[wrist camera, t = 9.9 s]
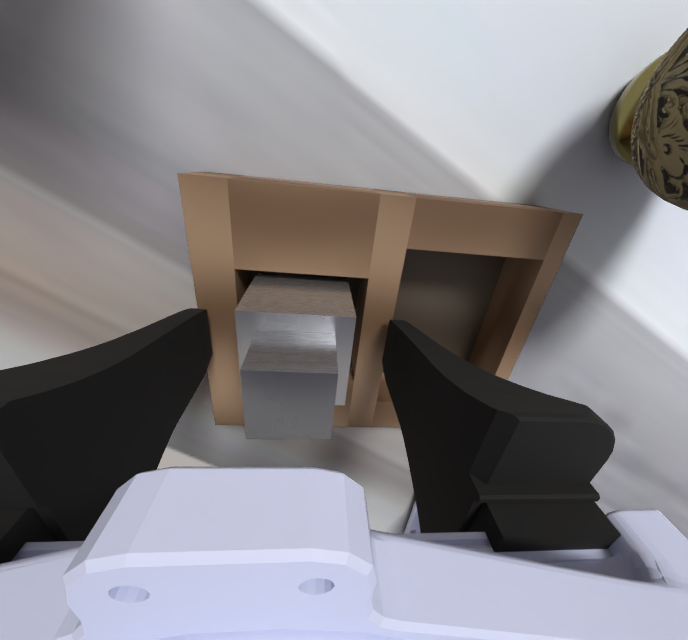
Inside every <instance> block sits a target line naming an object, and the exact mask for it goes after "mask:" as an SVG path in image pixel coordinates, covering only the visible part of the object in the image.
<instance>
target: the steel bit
mask: <svg viewBox="0 0 688 640" xmlns="http://www.w3.org/2000/svg"><path fill="white" fill-rule="evenodd" d="M234 311H235V322H236V334H237V346H238V357H239V369H240V380H241V392H242V403H243V411H244V423H245V434H246V439H320V440H331V435H332V426H333V417H334V408H335V405H345V400H346V392H347V385H348V377H349V369H350V362H351V354H352V347H353V339H354V331H355V324H356V314H355V309H354V305H353V300H352V296H351V292H350V287H349V283H348V278H347V277H341V276H327V275H312V274H298V273H284V272H270V271H258V272H257V274H256V276H255V277H254V279H253V281H252V282H251V284H250V286H249V287H248V289H247V291H246V292H245V294H244V296H243V297H242V299H241V300H240V302H239V304H238V305H237V307H236V309H235V310H234Z"/></svg>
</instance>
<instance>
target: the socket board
mask: <svg viewBox="0 0 688 640" xmlns="http://www.w3.org/2000/svg"><path fill="white" fill-rule="evenodd" d="M178 180H179V186H180V193H181V200H182V206H183V213H184V220H185V226H186V233H187V240H188V246H189V253H190V260H191V266H192V273H193V279H194V286H195V293H196V299H197V306H198V309H207V314H208V322H209V329H210V336H211V344H212V351H213V355H212V357H211V360H210V363H209V366H208V368H207V372H208V379H209V386H210V392H211V399H212V406H213V412H214V419H215V425H245V423H244V411H243V403H242V392H241V380H240V369H239V357H238V346H237V334H236V322H235V311H234V310H235V309H236V307H237V305H238V304H239V302H240V300H241V299H242V297H243V296H244V294H245V292H246V291H247V289H248V287H249V286H250V284H251V282H252V281H253V279H254V277H255V276H256V274H257V272H258V271H270V272H284V273H298V274H312V275H327V276H341V277H347V278H348V283H349V287H350V292H351V296H352V300H353V305H354V309H355V314H356V324H355V331H354V339H353V347H352V354H351V362H350V369H349V377H348V385H347V392H346V400H345V405H335V408H334V417H333V426H334V427H395V428H401V427H400V424H399V421H398V418H397V415H396V412H395V409H394V406H393V403H392V400H391V397H390V394H389V391H388V387H387V384H386V381H385V376H384V371H383V364H382V357H383V352H384V347H385V342H386V337H387V331H388V326H389V321H390V320H405V321H407V322H408V323H410V324H411V325H413V326H414V327H416V328H417V329H418V330H420V331H421V332H423V333H424V334H425V335H427V336H428V337H429V338H431V339H432V340H434V341H435V342H437V343H438V344H439V345H441V346H442V347H444V348H445V349H447V350H449V351H450V352H452V353H453V354H455V355H457V356H458V357H460V358H462V359H464V360H465V361H467V362H469V363H471V364H473V365H475V366H477V367H479V368H481V369H483V370H485V371H487V372H489V373H491V374H494V375H496V376H498V377H501V378H503V379H505V380H508V379H509V376H510V374H511V372H512V370H513V367H514V365H515V363H516V361H517V359H518V356H519V354H520V352H521V350H522V348H523V345H524V343H525V341H526V339H527V337H528V334H529V332H530V330H531V328H532V326H533V323H534V321H535V319H536V317H537V315H538V312H539V310H540V308H541V306H542V304H543V301H544V299H545V297H546V295H547V293H548V290H549V288H550V286H551V284H552V282H553V279H554V277H555V275H556V273H557V271H558V268H559V266H560V264H561V262H562V260H563V257H564V255H565V253H566V251H567V249H568V246H569V244H570V242H571V240H572V238H573V235H574V233H575V231H576V229H577V227H578V224H579V222H580V220H581V218H582V216H583V214H577V213H572V212H567V211H561V210H556V209H551V208H545V207H540V206H532V205H522V204H513V203H503V202H493V201H484V200H474V199H464V198H455V197H445V196H435V195H425V194H416V193H406V192H396V191H387V190H377V189H367V188H358V187H348V186H338V185H329V184H319V183H309V182H299V181H290V180H280V179H270V178H261V177H251V176H241V175H232V174H222V173H212V172H193V173H178Z"/></svg>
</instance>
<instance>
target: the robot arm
mask: <svg viewBox="0 0 688 640" xmlns="http://www.w3.org/2000/svg"><path fill="white" fill-rule="evenodd" d="M212 355H213V351H212V344H211V336H210V329H209V322H208V314H207V309H193V308H190V309H186V310H183V311H181V312H178V313H176V314H173V315H171V316H169V317H167V318H164V319H162V320H160V321H157V322H155V323H153V324H151V325H148V326H146V327H144V328H141V329H139V330H136V331H134V332H131V333H129V334H126V335H124V336H121V337H119V338H116V339H114V340H111V341H108V342H106V343H103V344H100V345H97V346H94V347H90V348H87V349H84V350H81V351H78V352H74V353H71V354H67V355H63V356H59V357H55V358H52V359H48V360H44V361H40V362H36V363H32V364H28V365H23V366H19V367H14V368H9V369H4V370H0V640H688V540H687V539H686V538H685V537H684V536H683V535H682V534H681V533H680V532H679V531H678V530H677V528H676V527H675V526H674V525H673V524H672V523H671V522H670V521H669V520H668V519H667V518H666V517H665V516H664V515H663V514H662V513H661V512H660V511H658V510H654V509H639V510H616V511H612V512H610V513H608V514H606V515H605V514H604V513H603V512H602V510H601V509H600V508H599V507H598V505H597V504H596V503H595V502H594V501H598V500H599V499H600V496H599V493H598V492H597V491H596V490H595V489H594V487H593V486H592V485H591V484H590V482H591V480H592V479H593V478H594V476H595V475H596V474H597V473H598V471H599V470H600V469H601V467H602V466H603V465H604V464H605V462H606V461H607V460H608V458H609V456H610V455H611V453H612V451H613V448H614V443H615V436H614V432H613V430H612V429H611V428H610V427H609V426H608V424H607V423H605V422H604V421H603V420H602V419H601V418H600V417H599V416H598V415H597V414H596V413H594V412H593V411H592V410H591V409H590V408H589V407H588V406H586V405H583V404H579V403H576V402H572V401H568V400H565V399H561V398H558V397H554V396H551V395H547V394H544V393H541V392H538V391H535V390H532V389H529V388H526V387H523V386H521V385H518V384H515V383H513V382H510V381H508V380H505V379H503V378H501V377H498V376H496V375H494V374H491V373H489V372H487V371H485V370H483V369H481V368H479V367H477V366H475V365H473V364H471V363H469V362H467V361H465V360H464V359H462V358H460V357H458V356H457V355H455V354H453V353H452V352H450V351H449V350H447V349H445V348H444V347H442V346H441V345H439V344H438V343H437V342H435V341H434V340H432V339H431V338H429V337H428V336H427V335H425V334H424V333H423V332H421V331H420V330H418V329H417V328H416V327H414V326H413V325H411V324H410V323H408V322H407V321H405V320H390V321H389V326H388V331H387V337H386V342H385V347H384V352H383V357H382V364H383V371H384V376H385V381H386V384H387V387H388V391H389V394H390V397H391V400H392V403H393V406H394V409H395V412H396V415H397V418H398V421H399V424H400V427H401V430H402V434H403V438H404V443H405V447H406V452H407V457H408V462H409V467H410V472H411V477H412V483H413V488H414V494H415V500H416V501H415V503H414V506H413V509H412V512H411V515H410V517H409V520H408V523H407V526H406V529H405V532H404V534H391V533H386V532H381V531H376V530H371V529H370V525H369V517H368V510H367V503H366V499H365V494H364V490H363V487H362V486H360V485H359V484H357V483H356V482H355V481H353V480H352V479H350V478H349V477H348V476H346V475H345V474H343V473H342V472H339V471H334V470H328V469H322V468H317V467H170V468H164V469H158V470H157V467H158V465H159V462H160V460H161V458H162V455H163V453H164V451H165V448H166V446H167V444H168V441H169V439H170V437H171V435H172V432H173V430H174V429H175V427H176V425H177V423H178V421H179V419H180V417H181V416H182V414H183V412H184V411H185V409H186V407H187V405H188V404H189V402H190V400H191V398H192V397H193V395H194V393H195V391H196V390H197V388H198V386H199V384H200V383H201V381H202V379H203V377H204V375H205V373H206V371H207V368H208V366H209V363H210V360H211V357H212Z"/></svg>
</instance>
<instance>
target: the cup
mask: <svg viewBox="0 0 688 640" xmlns="http://www.w3.org/2000/svg"><path fill="white" fill-rule="evenodd" d="M609 141H610V145H611V147H612V149H613V151H614V153H615V154H616V155H617V156H618V157H619V158H621V159H622V160H623V161H625V162H627V163H629V164H631V165H633V166H634V167H635V169H636V171H637V173H638V175H639V176H640V178H641V179H642V181H643V182H644V184H645V185H646V186H647V187H648V188H649V189H650V190H651V191H652V192H654V193H655V194H656V195H657V196H659V197H660V198H662V199H663V200H665V201H667V202H669V203H671V204H674V205H676V206H678V207H680V208H682V209H685V210H688V28H687V30H686V31H685V32H684V33H683V34H682V35H681V36H680V37H679V38H678V40H677V41H676V42H675V43H674V44H673V46H672V47H671V48H670V50H669V51H668V52H666V53H664V54H663V55H661V56H660V57H658V58H657V59H656V60H654V61H653V62H652V63H651V64H649V65H648V66H647V67H645V68H644V69H643V70H642V71H641V72H640V73H639V74H638V75H636V77H635V78H634V79H633V80H632V81H631V82H630V83H629V84H628V86H627V87H626V88H625V90H624V91H623V93H622V94H621V96H620V97H619V99H618V101H617V103H616V105H615V107H614V110H613V113H612V116H611V119H610V124H609Z"/></svg>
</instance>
